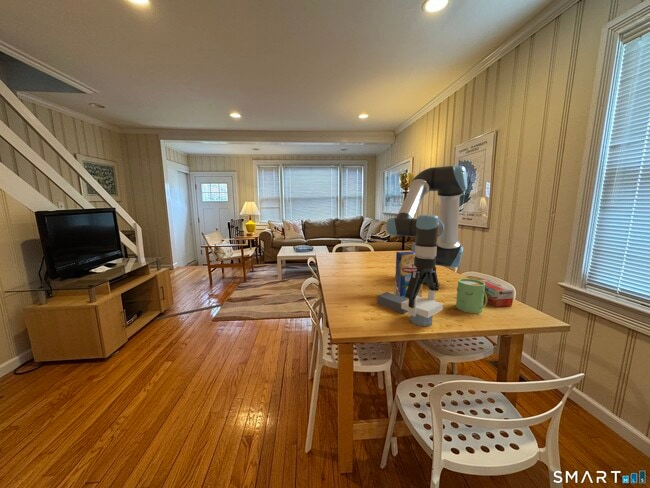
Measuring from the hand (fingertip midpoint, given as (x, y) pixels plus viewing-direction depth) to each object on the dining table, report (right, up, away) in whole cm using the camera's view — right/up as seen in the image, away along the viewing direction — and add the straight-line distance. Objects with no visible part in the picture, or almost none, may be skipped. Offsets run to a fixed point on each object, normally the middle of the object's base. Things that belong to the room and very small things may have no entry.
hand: (421, 310), depth 98 cm
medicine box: (+41, -1, +22) cm, 47 cm away
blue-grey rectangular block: (-6, -2, +15) cm, 16 cm away
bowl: (0, -4, +1) cm, 4 cm away
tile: (0, 0, 0) cm, 1 cm away
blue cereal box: (+3, 0, +26) cm, 27 cm away
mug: (+26, -3, +12) cm, 29 cm away
